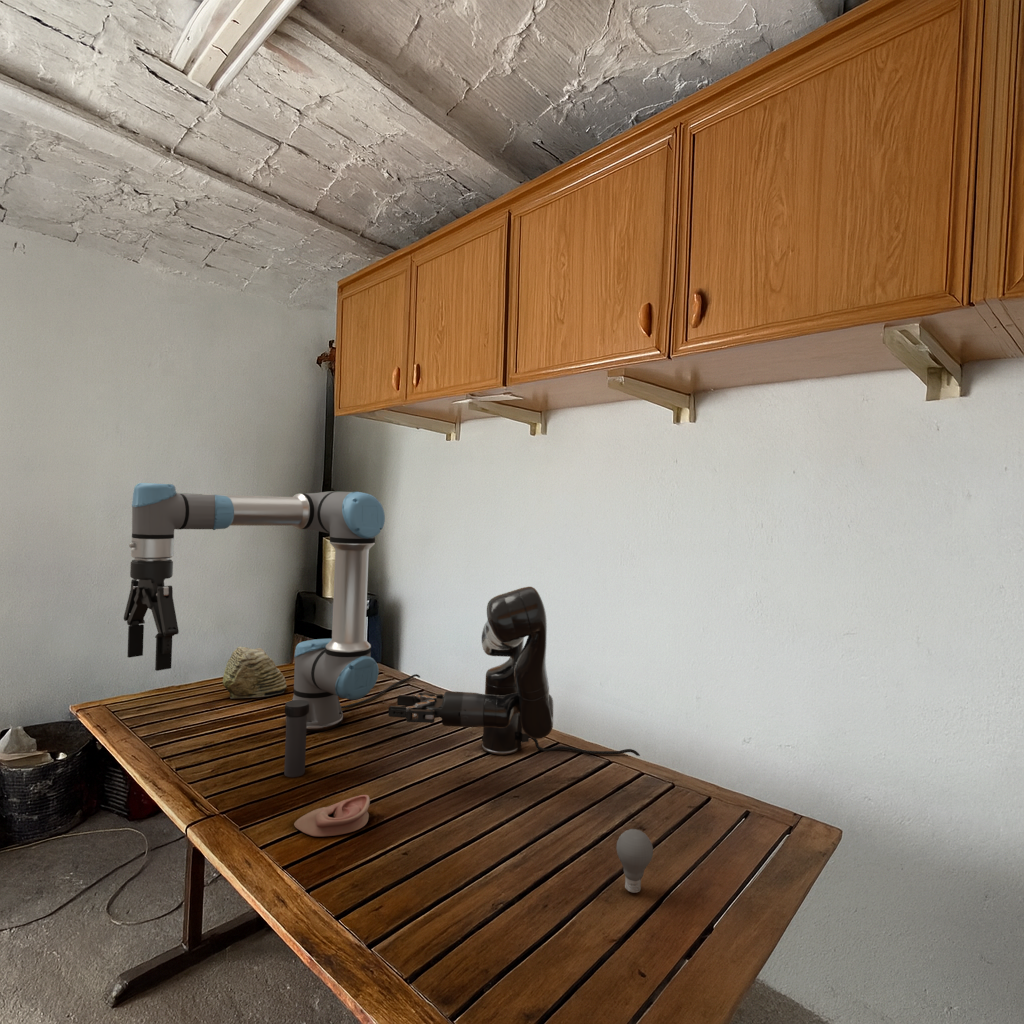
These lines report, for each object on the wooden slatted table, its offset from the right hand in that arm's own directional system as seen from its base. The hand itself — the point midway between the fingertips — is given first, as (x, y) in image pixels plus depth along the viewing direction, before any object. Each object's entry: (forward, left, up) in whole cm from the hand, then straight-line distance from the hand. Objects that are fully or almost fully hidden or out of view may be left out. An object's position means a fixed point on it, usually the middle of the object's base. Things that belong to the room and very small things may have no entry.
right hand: (393, 705), depth 143 cm
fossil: (+28, -71, -17) cm, 78 cm away
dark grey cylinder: (+20, -10, -17) cm, 28 cm away
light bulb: (-30, +53, -17) cm, 63 cm away
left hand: (+49, -6, +11) cm, 51 cm away
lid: (+20, -10, -1) cm, 22 cm away
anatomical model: (+15, +16, -17) cm, 27 cm away
